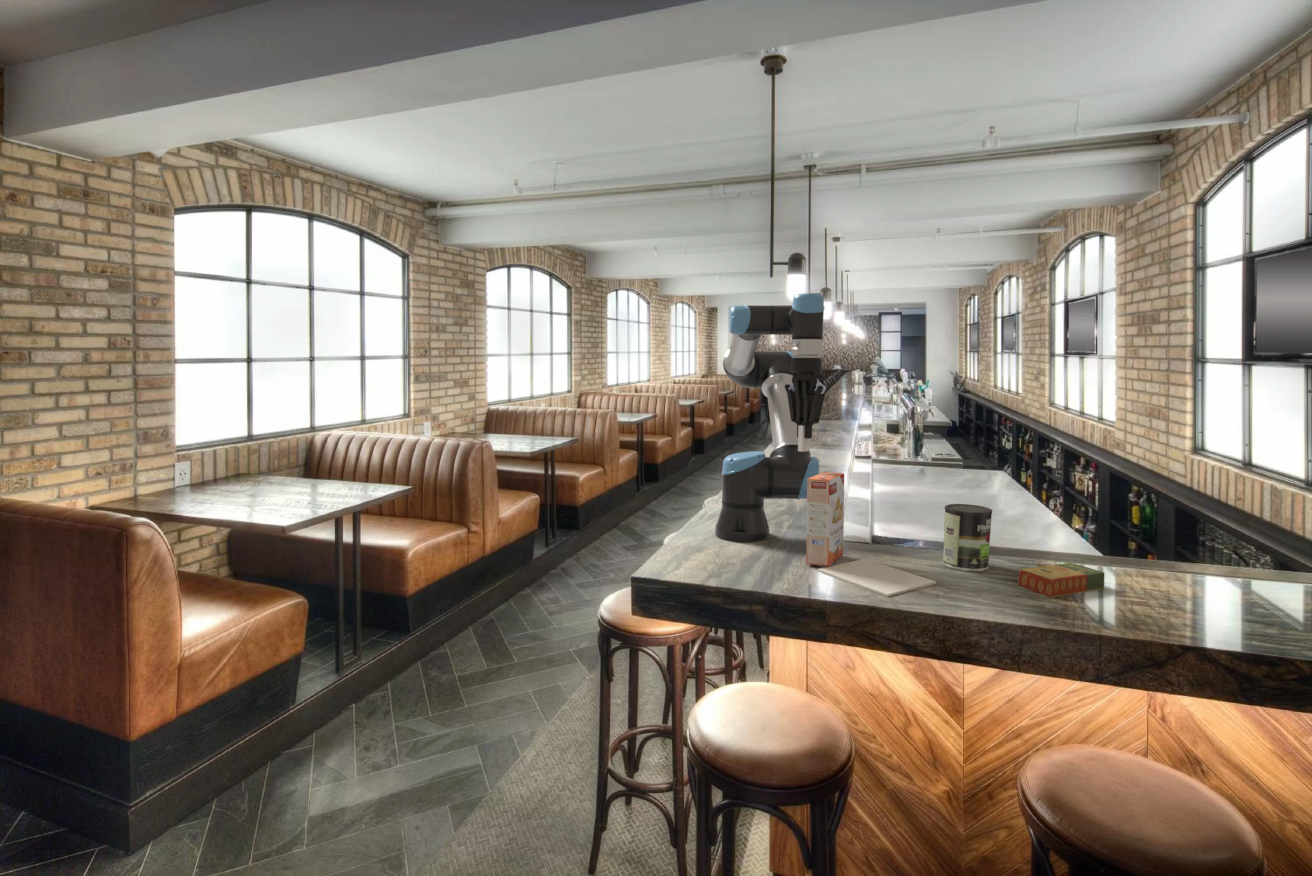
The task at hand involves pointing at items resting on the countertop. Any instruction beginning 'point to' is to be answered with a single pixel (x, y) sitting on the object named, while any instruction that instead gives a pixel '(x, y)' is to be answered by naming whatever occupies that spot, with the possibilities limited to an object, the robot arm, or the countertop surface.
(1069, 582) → the carton
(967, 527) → the coffee can
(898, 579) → the mat
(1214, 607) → the countertop surface
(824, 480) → the cracker box
